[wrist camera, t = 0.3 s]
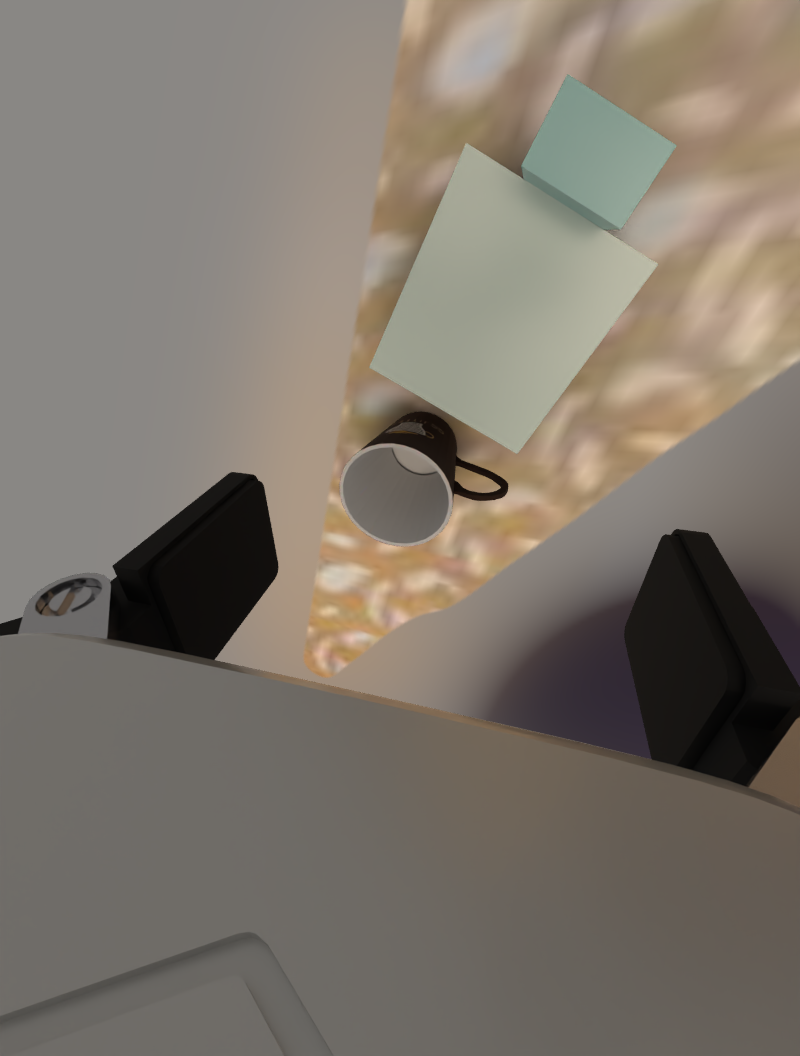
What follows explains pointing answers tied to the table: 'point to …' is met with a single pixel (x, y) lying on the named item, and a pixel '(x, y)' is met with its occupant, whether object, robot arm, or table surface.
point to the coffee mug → (408, 481)
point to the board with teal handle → (525, 269)
